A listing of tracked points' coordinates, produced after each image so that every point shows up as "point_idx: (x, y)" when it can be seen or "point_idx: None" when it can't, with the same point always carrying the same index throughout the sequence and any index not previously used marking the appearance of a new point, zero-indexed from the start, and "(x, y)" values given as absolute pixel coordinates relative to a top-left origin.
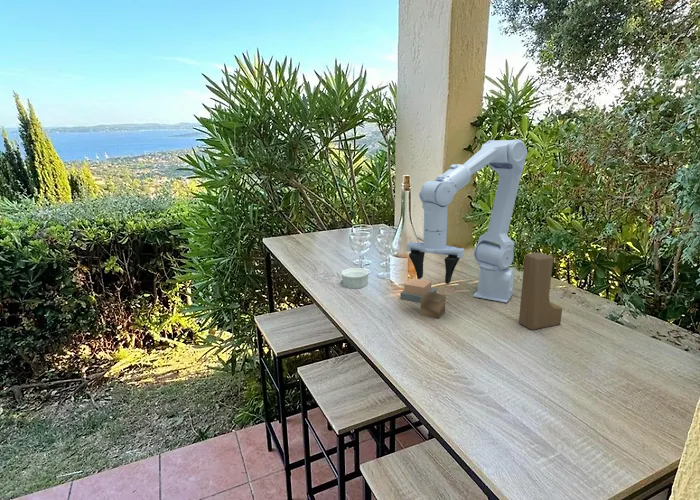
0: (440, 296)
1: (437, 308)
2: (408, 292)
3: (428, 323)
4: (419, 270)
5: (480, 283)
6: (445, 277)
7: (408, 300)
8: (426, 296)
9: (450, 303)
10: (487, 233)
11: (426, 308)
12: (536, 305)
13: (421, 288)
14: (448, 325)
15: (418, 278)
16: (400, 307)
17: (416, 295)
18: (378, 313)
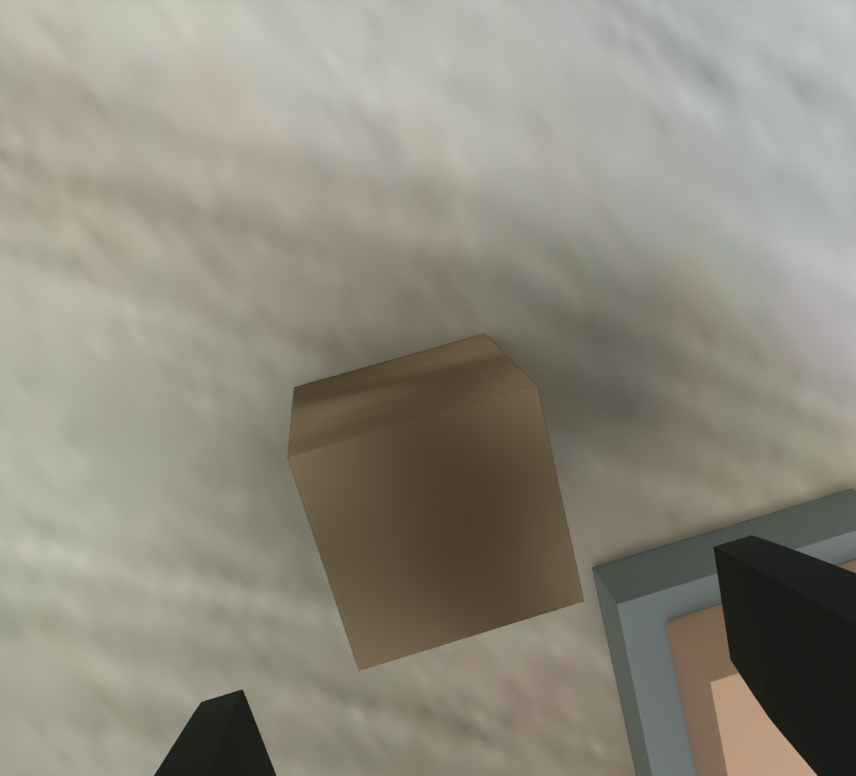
0: (377, 592)
1: (308, 419)
2: None
3: (303, 233)
4: (823, 643)
5: None
6: (209, 764)
7: (768, 514)
8: (509, 472)
9: (429, 731)
10: None
11: (435, 373)
12: None
13: (730, 662)
14: (128, 341)
15: (737, 541)
16: (741, 334)
17: None
18: (840, 50)
